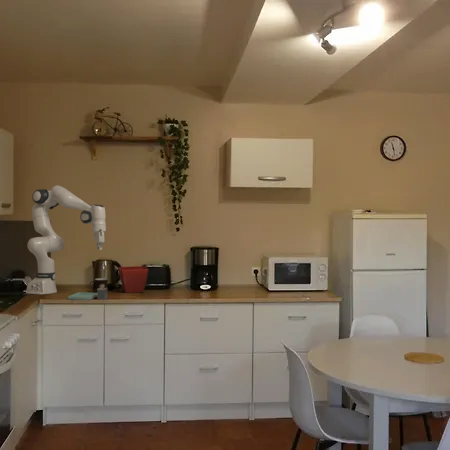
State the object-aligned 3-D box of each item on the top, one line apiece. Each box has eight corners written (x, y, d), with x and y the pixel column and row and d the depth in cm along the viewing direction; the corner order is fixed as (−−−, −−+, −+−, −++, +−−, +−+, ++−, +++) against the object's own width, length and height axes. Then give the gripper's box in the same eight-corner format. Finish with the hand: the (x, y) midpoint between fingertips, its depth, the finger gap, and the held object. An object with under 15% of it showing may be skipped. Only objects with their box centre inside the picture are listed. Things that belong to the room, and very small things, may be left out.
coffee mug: (109, 292, 395) (109, 278, 395) (105, 294, 386) (105, 280, 386) (93, 292, 396) (93, 277, 396) (89, 294, 388) (89, 279, 387)
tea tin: (97, 299, 369) (97, 288, 368) (100, 298, 374) (100, 287, 374) (104, 299, 368) (104, 289, 368) (107, 298, 373) (107, 287, 373)
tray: (68, 299, 367) (67, 296, 367) (78, 295, 384) (78, 292, 384) (89, 300, 365) (89, 297, 365) (99, 295, 381) (99, 293, 381)
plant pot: (118, 289, 407) (118, 266, 406) (144, 288, 413) (144, 265, 412) (120, 294, 389) (120, 270, 388) (148, 293, 394) (148, 269, 393)
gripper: (106, 229, 367) (106, 250, 367) (101, 228, 386) (102, 248, 386) (96, 229, 365) (97, 250, 365) (92, 228, 384) (92, 248, 384)
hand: (99, 249), depth 376 cm, fingers open, 8 cm apart
